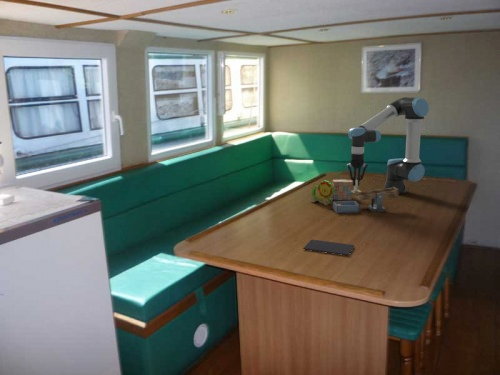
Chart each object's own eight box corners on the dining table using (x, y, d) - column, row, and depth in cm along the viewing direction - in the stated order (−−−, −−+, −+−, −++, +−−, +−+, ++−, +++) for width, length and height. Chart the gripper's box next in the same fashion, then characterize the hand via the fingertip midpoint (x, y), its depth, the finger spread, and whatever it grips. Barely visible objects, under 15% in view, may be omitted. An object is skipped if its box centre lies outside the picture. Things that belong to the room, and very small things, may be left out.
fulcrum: (379, 206, 280) (380, 189, 278) (386, 211, 270) (387, 193, 267) (367, 207, 280) (367, 189, 277) (373, 212, 269) (373, 194, 267)
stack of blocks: (319, 199, 300) (319, 181, 297) (318, 197, 306) (318, 179, 303) (352, 199, 298) (352, 181, 295) (350, 197, 304) (351, 179, 301)
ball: (341, 208, 275) (340, 202, 274) (342, 209, 272) (342, 204, 271) (335, 209, 275) (335, 203, 274) (337, 210, 272) (336, 205, 271)
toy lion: (309, 202, 294) (310, 179, 290) (314, 200, 298) (315, 177, 294) (330, 206, 283) (331, 182, 280) (335, 204, 287) (336, 181, 284)
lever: (389, 190, 287) (388, 183, 286) (399, 197, 270) (398, 189, 269) (351, 196, 286) (351, 189, 285) (359, 203, 270) (359, 195, 268)
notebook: (303, 251, 212) (348, 257, 203) (303, 247, 212) (348, 254, 203) (311, 242, 223) (354, 248, 215) (311, 239, 223) (354, 245, 214)
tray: (354, 207, 279) (354, 200, 278) (359, 212, 269) (359, 205, 268) (332, 208, 278) (332, 201, 277) (336, 213, 268) (337, 205, 267)
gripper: (366, 152, 281) (364, 189, 287) (345, 152, 281) (343, 189, 286) (370, 154, 274) (367, 192, 279) (348, 154, 273) (347, 192, 279)
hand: (355, 190), depth 283 cm, fingers closed
